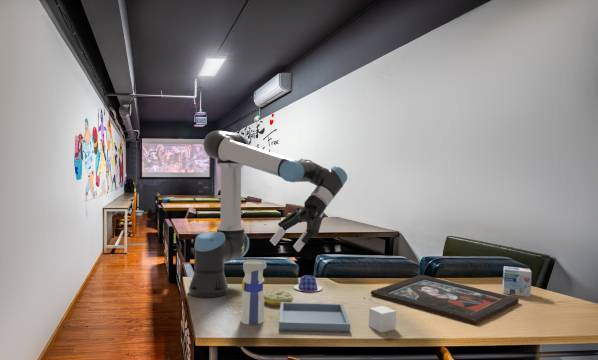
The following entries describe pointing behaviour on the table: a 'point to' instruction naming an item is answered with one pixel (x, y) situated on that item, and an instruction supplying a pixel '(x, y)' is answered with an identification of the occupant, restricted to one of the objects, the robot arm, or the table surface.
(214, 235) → the robot arm
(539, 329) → the table surface
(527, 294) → the light bulb box
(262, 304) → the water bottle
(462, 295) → the religious icon
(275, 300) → the decorated donut
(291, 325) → the blue-gray tray
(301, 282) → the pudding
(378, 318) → the white cube
